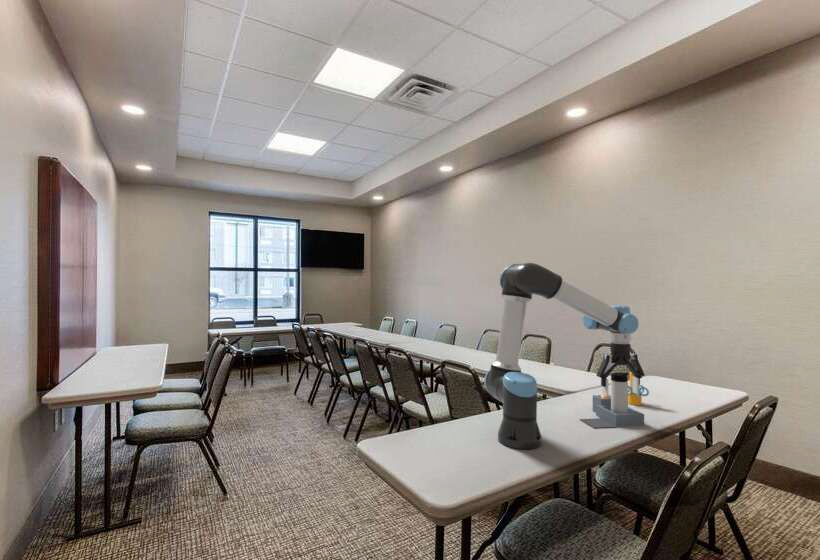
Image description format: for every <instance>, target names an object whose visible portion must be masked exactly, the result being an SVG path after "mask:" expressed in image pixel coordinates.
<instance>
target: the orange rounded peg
mask: <svg viewBox="0 0 820 560" xmlns="http://www.w3.org/2000/svg"><path fill="white" fill-rule="evenodd" d="M600 395H601V398H603V399H606V398H609V396H608V395H605V394H600Z"/></svg>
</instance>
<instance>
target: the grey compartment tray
mask: <svg viewBox="0 0 820 560" xmlns="http://www.w3.org/2000/svg"><path fill="white" fill-rule="evenodd" d="M601 395H602V394H598V395H597V394H595V395H593V394H592V412H594V413H595V416H596V417H597V418H602V419H604V420H606V421H608V422H610V423H612V424H614V425H615V426H617V427H631V426H632V427H634V426H639V427H640V426H645V413H643V412H641V411H638V410H636V409H634V408H631V407H630V406H628V414H616V413H614V412H612V411H611V394H609V395H608V396H609V398H606V399H603V398H601Z"/></svg>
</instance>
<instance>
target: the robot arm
mask: <svg viewBox="0 0 820 560" xmlns="http://www.w3.org/2000/svg"><path fill="white" fill-rule="evenodd" d="M499 285H500V287H501V288H502V290H501V297H502V298H503V300H504V304H503V310H502V317H501V321H500V322H501V323H500V330H499V337H498V343H497V350H496V356H495V358H496V359H495V360H494V361H492V362H491V364H490V369H489V370H488V371H487V372H486V374H485V375H484V381H483V382H484V387H485V389H486V392H488V393H489V395H490V396H491V397H492V398H494V399H496V400H498V401H499V402H500V403H502V419H501V422H500V426H499V428H498V432H497V441H498V442H499V443H500V444H502V445H504V446H506V447H509V448H513V449H519V450H534V449H538V448H539V447H541V446H542V443H543V441H542V440H543V439H542V437H543V436H542V433H541V431H540V428H539V425H538V422H537V421H538V420H537V417H538V416H537V415H538V413H537V412H538V411H537V410H538V409H537V408H538V404H537V403H538V385H537V379H536V378H535V377H534V376H533V375H531V374H529V373H524V372H522V368H521V367H520V365H519V360H520V359H519V358H520V354H521V346H522V341H523V339H522V338H523V333H524V332H523V331H524V325H525V320H526V319H525V317H526V312H527V311H526V310H527V305H528V303H529V302H531V301H532V298H533V295H535V296H540V297H543V298H544V299H547V300H552V299H553V300H554V301H557V302H559V303H561V304H562V305H564V306H567V307H568V308H570V309H572V310H574V311H576V312H577V313H580V314H582V315H583V317H582V323H583V326H584V328H586V329H588V330H593V331H595V330H601V331H608V332H609V340H610V344H609V345H610V346H609V349H610V354H606V353H605V354H603V357H602V361H601V364H600V366H599V367H598V371H597V372H596V377H598V378H600V386H601V387H602V395H610V394H609V379H608V377H609V376H610V375H611V374H612V373H613V370H614V369H615V368H616V367H618V366H626V368H627V369H628V370H629V372H632V374H633V375H634V376H635V377H632V384H633V393H636V394H639V389H640V388H639V385H641V379H643V377H645V375H646V373H645V372H644V370H643V368H642V366H641V364H640V361H639V359H638V354H637V353H631V349H632V348H631V347H632V345H631V335H632V334H634V333H635V332H636V331H637V330H638V328H639V323H640V322H639V319H638V317H637V316H636V315H634V314H632V313H631V307H629V306H628V305H609V304H607V303H605V302H604V301H602V300H599V299H598V298H596V297H594V296H592V295H591V294H589V293H587V292H585V291H584V290H581V289H579V288H577V287H575V286H574V285H572V284H570V283H568V282H566V281H564V279H563V277H562V276H561V275H559V274H558V273H555V272H554V271H551V270H550V269H548V268H546V267H545V266H543V265H540V264H538V263H535V262H526V263H515V264H511V265H508V266H507V267H505V268H504V269H503V270H502V271H501V273H500V276H499ZM630 359H631V361H630Z"/></svg>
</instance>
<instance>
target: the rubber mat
mask: <svg viewBox="0 0 820 560" xmlns="http://www.w3.org/2000/svg"><path fill="white" fill-rule="evenodd" d="M579 421H581V422H582V423H584V424H585V425H587V426H589V427H590V428H592V429H613V428H615V429H617V428H618V426H615V425H614V424H612V423H610V422H608V421H606V420H604V419H602V418H600V417H597V418H595V417H594V418H579Z"/></svg>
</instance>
